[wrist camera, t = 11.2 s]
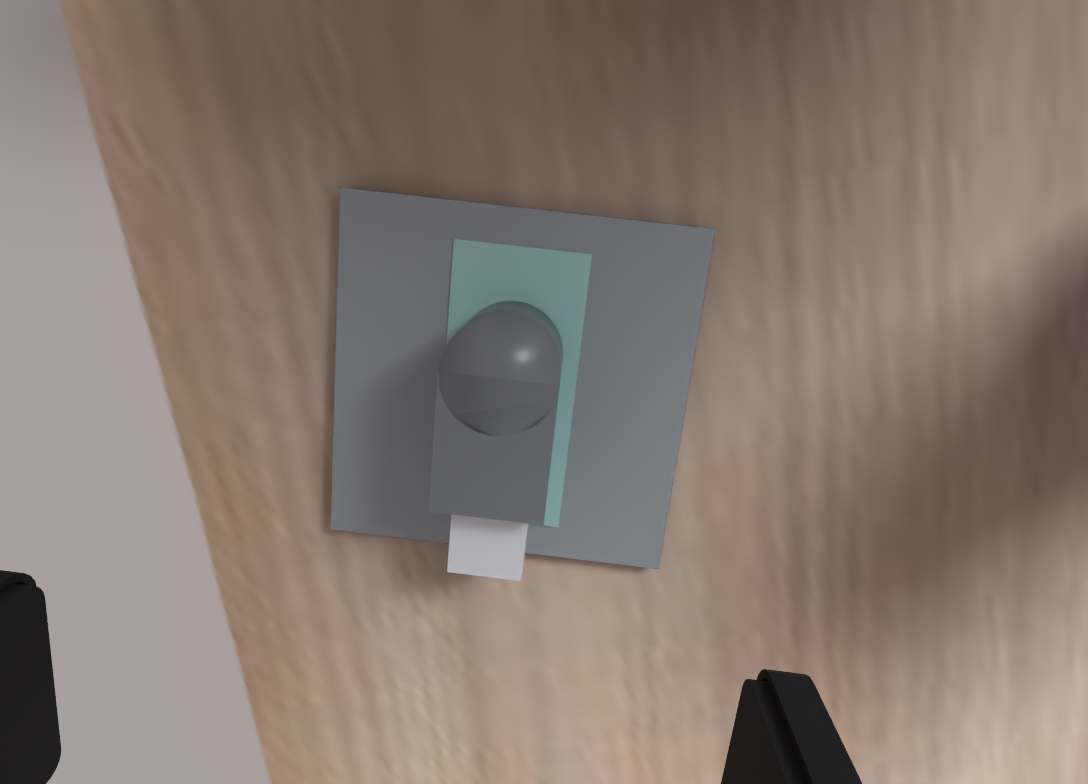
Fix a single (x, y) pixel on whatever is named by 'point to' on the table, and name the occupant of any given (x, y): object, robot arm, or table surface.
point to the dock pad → (586, 376)
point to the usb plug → (495, 435)
